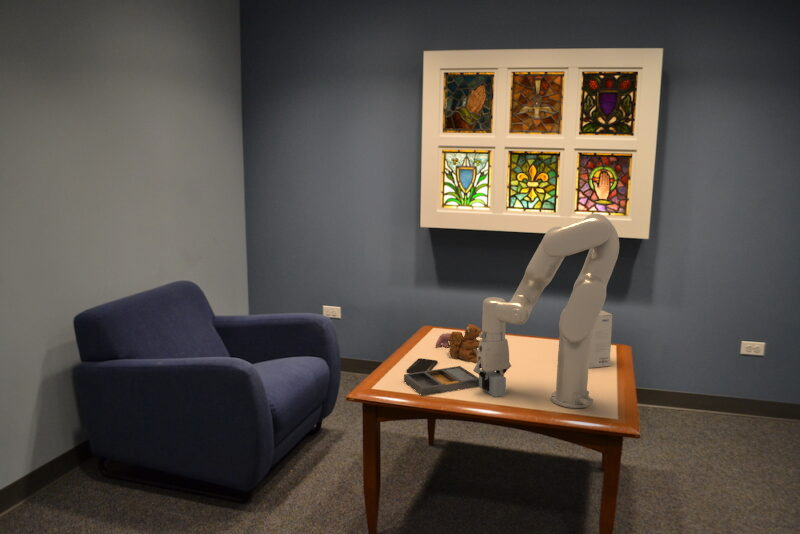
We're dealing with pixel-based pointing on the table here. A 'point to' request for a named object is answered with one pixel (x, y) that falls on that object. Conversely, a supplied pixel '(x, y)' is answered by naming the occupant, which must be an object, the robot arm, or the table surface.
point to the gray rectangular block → (495, 384)
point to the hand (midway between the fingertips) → (491, 388)
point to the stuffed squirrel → (465, 344)
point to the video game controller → (443, 340)
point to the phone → (422, 365)
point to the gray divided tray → (441, 380)
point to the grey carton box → (601, 341)
